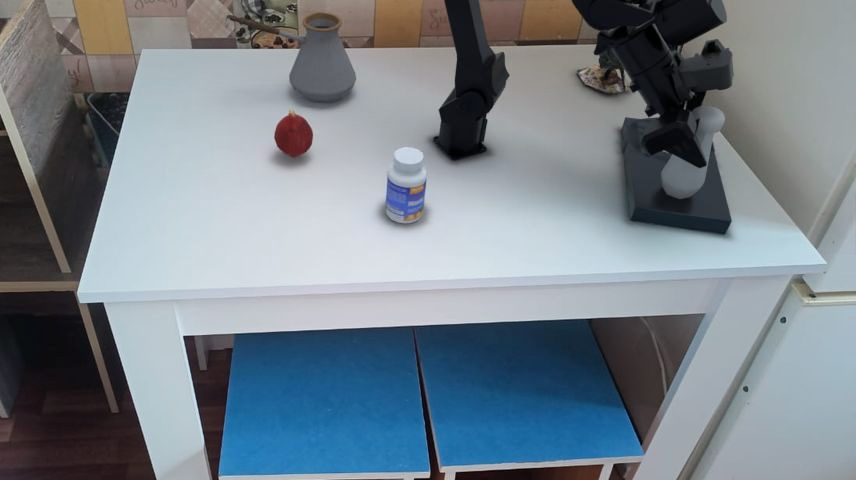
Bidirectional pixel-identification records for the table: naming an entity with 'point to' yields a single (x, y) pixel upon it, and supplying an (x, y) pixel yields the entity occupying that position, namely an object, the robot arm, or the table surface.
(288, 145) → the onion
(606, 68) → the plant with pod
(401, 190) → the pill bottle
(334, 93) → the coffee pot
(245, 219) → the table surface
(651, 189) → the plate
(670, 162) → the white rounded peg
